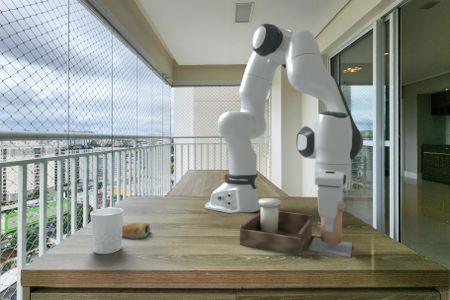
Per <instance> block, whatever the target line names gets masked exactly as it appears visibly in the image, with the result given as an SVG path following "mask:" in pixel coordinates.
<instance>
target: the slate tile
mask: <svg viewBox="0 0 450 300" xmlns="http://www.w3.org/2000/svg"><path fill="white" fill-rule="evenodd" d="M353 245H354V244H353V242H348V241H342V242H341V243H340V244H328V243H325V242H323V241H321V237H313V239H312V240H311V242H310V244H309V246H308V248H307V251H309V252H314V253H315V252H316V253H320V254H327V255H332V256H339V257H344V258H350V259H351V256H352V249H353Z"/></svg>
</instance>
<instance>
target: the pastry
mask: <svg viewBox="0 0 450 300" xmlns="http://www.w3.org/2000/svg"><path fill="white" fill-rule="evenodd" d="M150 233H151V226H150V224H149V223H148V222H146V223H142V222H134V223H129V224H127V225H123V230H122V238H128V239H129V238H130V239H144V238H146V237H147V236H148V234H150Z"/></svg>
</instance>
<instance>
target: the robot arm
mask: <svg viewBox="0 0 450 300" xmlns="http://www.w3.org/2000/svg"><path fill="white" fill-rule="evenodd" d="M251 48H252V54H251V55H250V57H249V59H248V62H247V64H246V67H245V70H244V73H243V75H242V76H243V77H242V79H241V83H240V86H239V89H238V96H239V98H240V110H229V111H226V112H223V113H222V114H221V115H220V116H219V118H218V120H217V129H218V133H220V135H221V136H222V137H223V139H224V141H225V145H226V148H227V151H228V152H227V153H228V173H227V174H225V175H223V180H224V182H223V183H222V184H221V185H220V186H219V187H217V188H216V189H215V190H213V191H212V193H211V195H210V201H208V202H206V203H205V205H204V209H208V210H212V211H218V212H222V213H227V214H231V213H232V214H237V213H254V212H259V209H261V206H260V205H259V197H258V196H259V195H258V186H259V178H258V177H259V176H258V173H257V172H258V171H257V170H258V169H257V168H258V165H257V164H258V163H257V162H258V161H257V160H258V158H257V157H258V156H257V153H256V151H255V150H254V147H253V145H252V140H253V139H257V138H259V137H261V136H263V134H264V133H265V132H266V130H267V123H266V119H265V112H266V103H267V99H268V94H269V91H270V88H271V85H272V81H273V79H274V75H275V72H276V70H277V68H278V67H279V66H282V67H283V68H284V69H286V74H287V80H288V82H289V83H290V85H291V87H292V88H294V89H295V90H297V91H298V92H300V93H302V94H305V95H309V96H310V97H313V98H315V99H317V100H320V101H321V102H322V103H323V104H324V105H325V106H326V108H327V110H328V111H322V112H320V113H319V114H318V115H317V117H316V119H315V121H313V122H311V124H309V125H304V126H303V127H302V128H301V129H300V130H299V131H298V133H297V134H296V144H295V145H296V149H297V151H298V153H299V154H300V155H301V156H302V157H304V158H307V159H314V160H315V161H314V185H316V196H317V210H318V216H319V217H320V219H321V218H325V224H326V231H328V232H333V229H334V219H335V217H336V215H337V212H338V205H339V203H340V201H341V202H343V189H345V188H346V185H347V184H348V183H351V182H352V160H353V159H355V158H356V157H357V156H358V155H359V154H360V152H361V151H362V149H363V145H364V139H363V138H364V137H363V136H362V133H361V131H360V129H359V127H358V126H357V125H356V123H355V121H354V118H353V115H352V113H351V111H350V107H349V105H348V103H347V101H346V98H345V95H344V92H343V91H342V88H341V85H340V84H339V82H338V80H336V79H335V78H334V77H333V76H332V75H331V74H330V73H329V71H328V70H327V68H326V66H325V64H324V62H323V57H322V54H321V49H320V47H319V44H318V42H317V39H316V37H315V36H314V34H313V33H312V32H310V31H308V30H303V29H302V30H297V31H292V30H290V29H285V28H283V27H279V26H277V25H275V24H272V23H262V24H260V25H259V26H258V27H257V28H256V29H255V30H254V32H253V35H252V38H251Z"/></svg>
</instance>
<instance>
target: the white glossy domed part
mask: <svg viewBox="0 0 450 300" xmlns="http://www.w3.org/2000/svg"><path fill="white" fill-rule="evenodd" d="M258 201H259V206H260V209H261V221H260V232H265V233H272V234H278V211H280V210H279V207H281V203H282V201H281V200H280V199H277V198H274V197H273V198H271V197H270V198H269V197H264V198H263V197H262V198H258Z"/></svg>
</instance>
